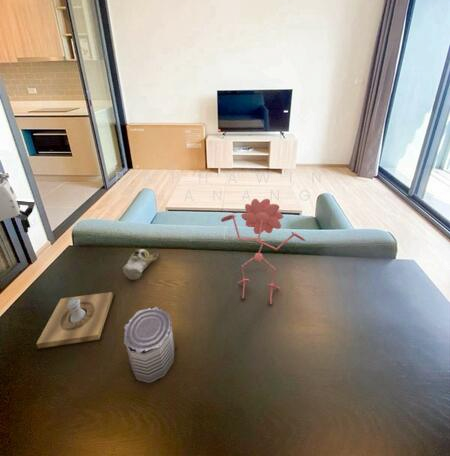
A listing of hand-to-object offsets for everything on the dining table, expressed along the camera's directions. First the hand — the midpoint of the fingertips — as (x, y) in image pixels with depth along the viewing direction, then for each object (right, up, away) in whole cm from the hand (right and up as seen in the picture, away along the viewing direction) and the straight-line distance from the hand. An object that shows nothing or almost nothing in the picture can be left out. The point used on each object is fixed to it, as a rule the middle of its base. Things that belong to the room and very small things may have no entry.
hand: (5, 237), depth 68 cm
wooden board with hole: (+17, -28, +6) cm, 33 cm away
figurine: (+74, -23, +18) cm, 79 cm away
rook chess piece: (+17, -28, +6) cm, 33 cm away
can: (+43, -31, -3) cm, 53 cm away
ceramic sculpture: (+29, -21, +25) cm, 44 cm away
